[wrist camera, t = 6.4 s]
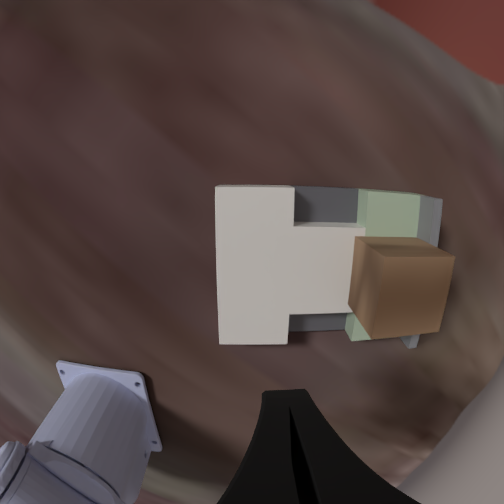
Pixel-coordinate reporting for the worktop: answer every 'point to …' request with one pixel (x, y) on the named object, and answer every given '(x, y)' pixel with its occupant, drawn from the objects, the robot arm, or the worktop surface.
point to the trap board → (302, 255)
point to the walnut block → (399, 285)
